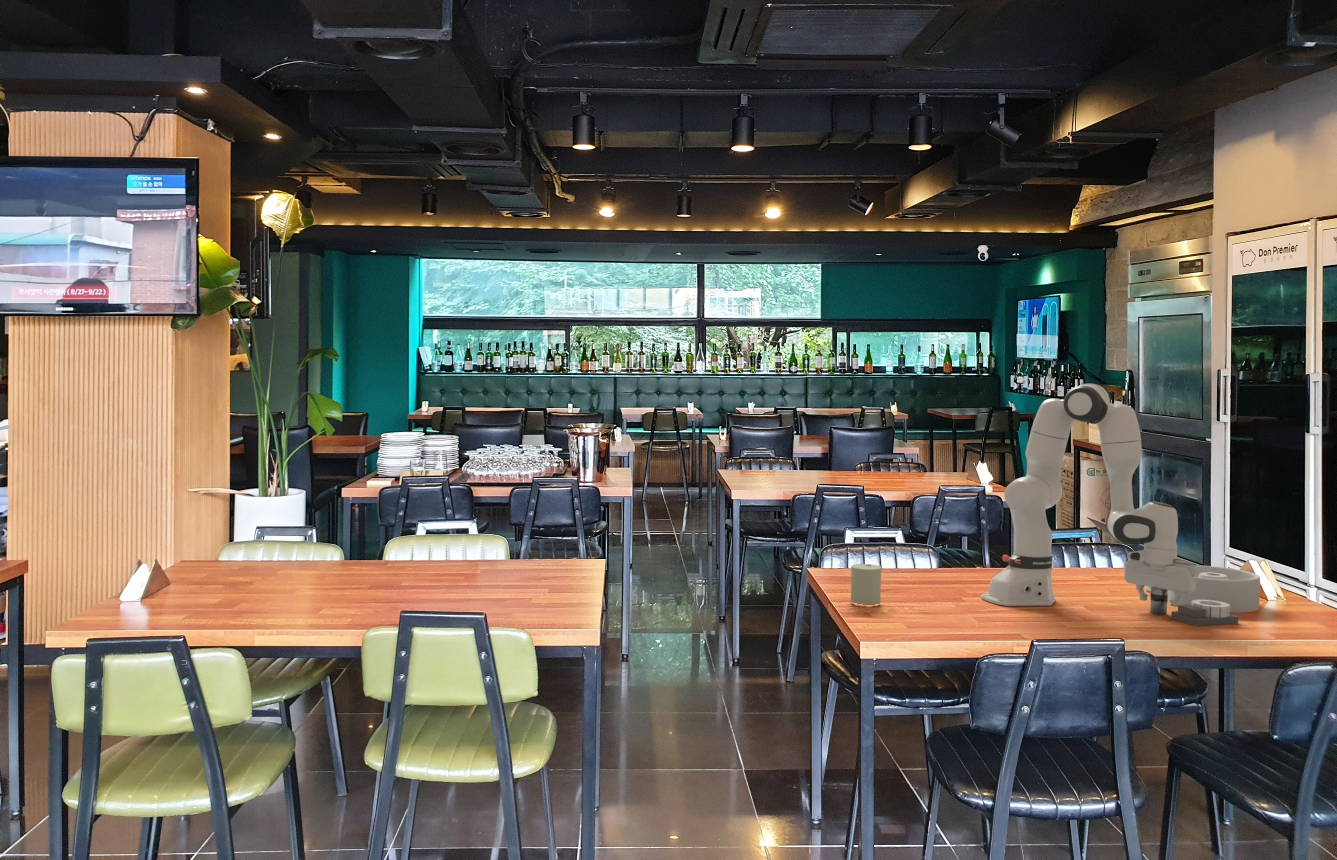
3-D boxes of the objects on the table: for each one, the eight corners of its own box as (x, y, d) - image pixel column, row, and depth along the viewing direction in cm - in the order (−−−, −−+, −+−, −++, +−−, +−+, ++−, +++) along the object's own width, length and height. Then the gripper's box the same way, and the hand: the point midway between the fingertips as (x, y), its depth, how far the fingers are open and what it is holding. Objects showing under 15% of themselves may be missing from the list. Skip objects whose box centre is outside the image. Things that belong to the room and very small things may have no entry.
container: (1267, 616, 294) (1268, 583, 294) (1172, 609, 303) (1173, 576, 302) (1250, 599, 317) (1251, 568, 317) (1163, 593, 326) (1164, 563, 326)
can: (883, 602, 307) (884, 564, 307) (877, 608, 299) (877, 568, 298) (854, 599, 311) (855, 561, 311) (846, 605, 303) (847, 566, 302)
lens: (1157, 615, 293) (1158, 588, 292) (1146, 612, 297) (1147, 585, 297) (1170, 614, 294) (1171, 587, 294) (1159, 611, 298) (1159, 584, 298)
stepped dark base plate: (1198, 626, 280) (1198, 608, 280) (1171, 618, 290) (1171, 601, 289) (1238, 623, 284) (1238, 606, 284) (1210, 615, 294) (1210, 598, 293)
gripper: (1201, 561, 288) (1199, 608, 289) (1134, 550, 305) (1132, 595, 306) (1189, 563, 284) (1187, 611, 285) (1122, 552, 301) (1120, 598, 302)
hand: (1158, 603), depth 295 cm, fingers open, 8 cm apart
